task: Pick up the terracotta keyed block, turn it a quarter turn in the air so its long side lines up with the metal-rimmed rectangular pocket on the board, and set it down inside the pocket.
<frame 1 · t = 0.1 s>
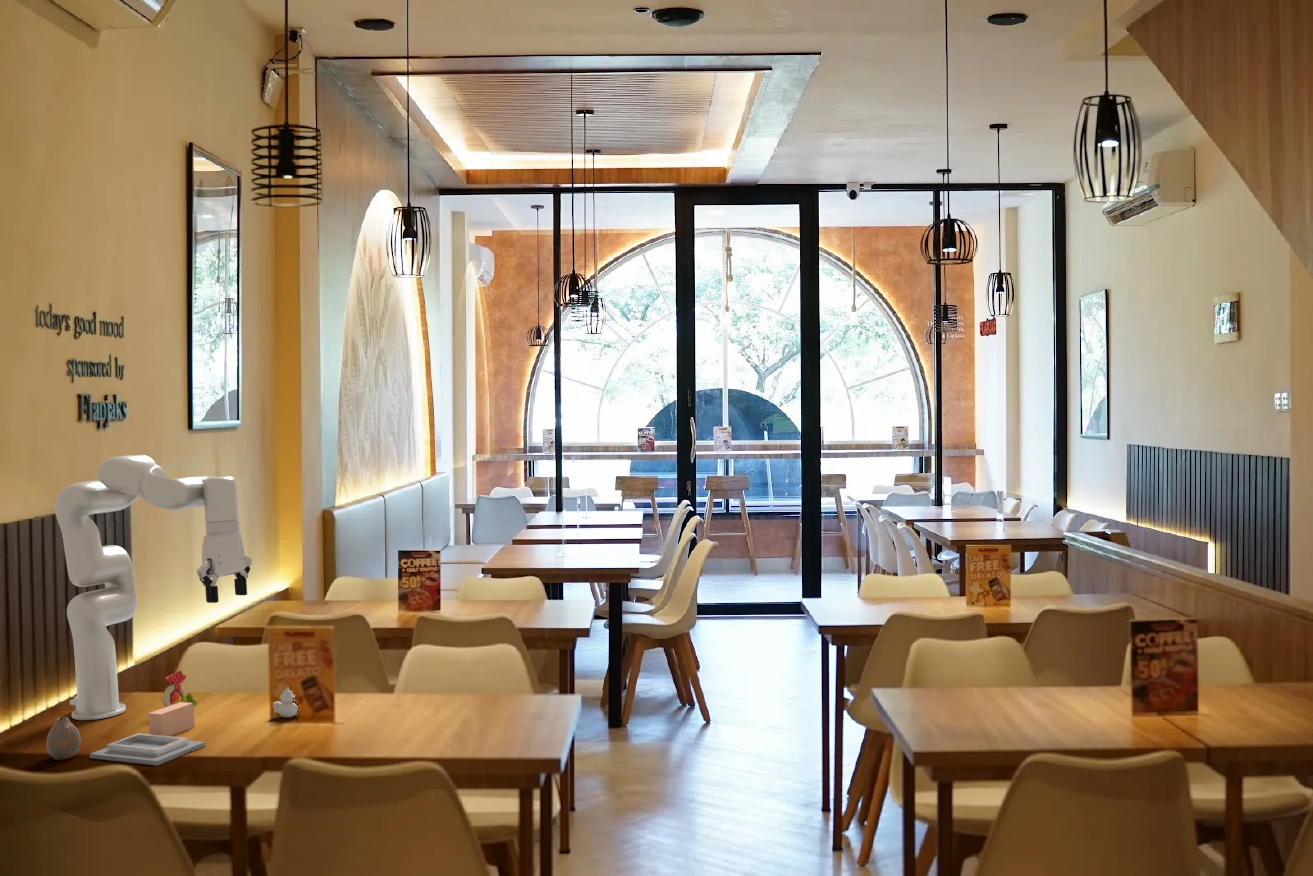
hand: (227, 598, 282), 31 cm above the table, fingers open, 9 cm apart
keyed block: (172, 732, 281), on the table
vase: (64, 758, 265), on the table
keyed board: (148, 752, 265), on the table
rubber duck: (286, 717, 290), on the table
bird rattle: (179, 714, 299), on the table
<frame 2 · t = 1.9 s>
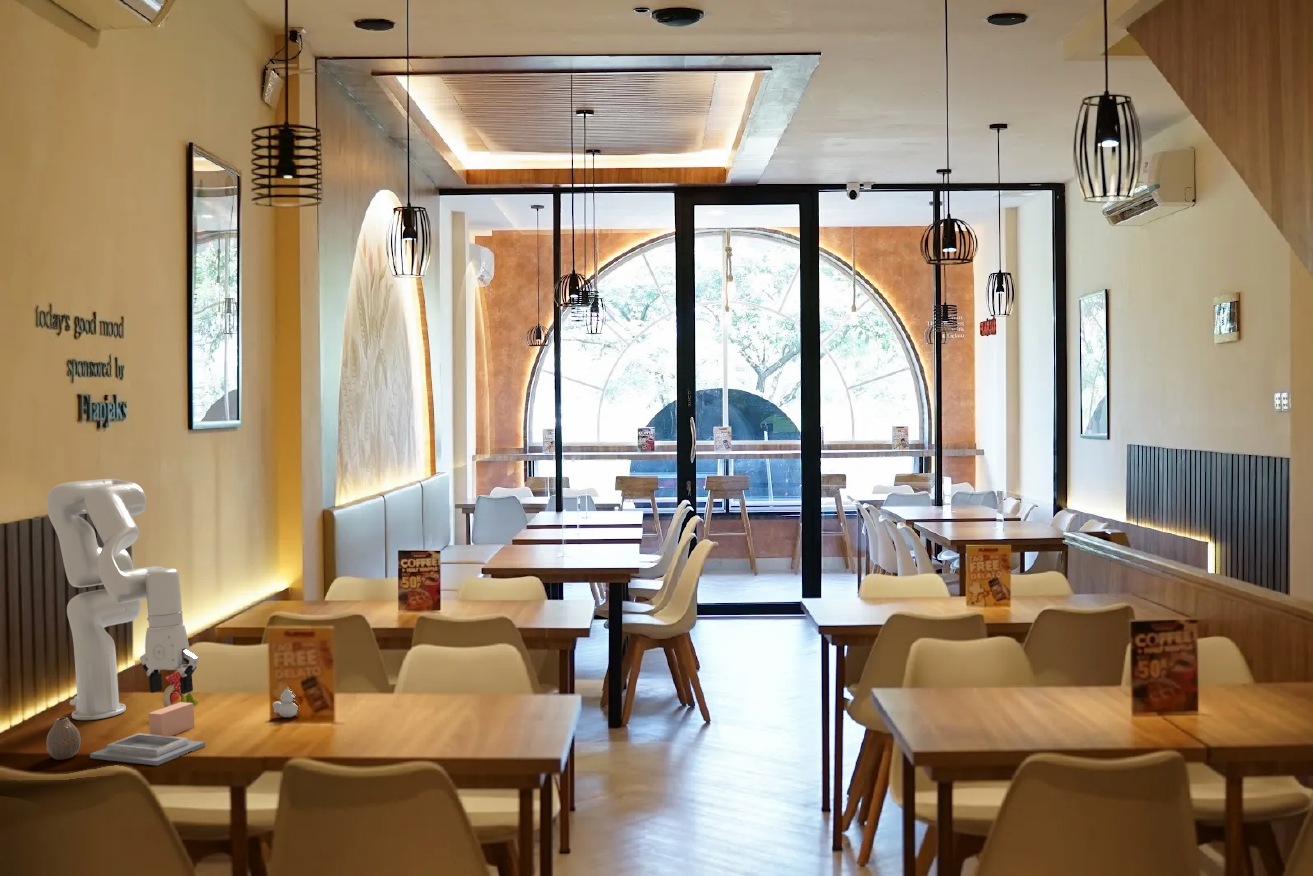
hand: (171, 692, 280), 10 cm above the table, fingers open, 9 cm apart
nothing on the table moved.
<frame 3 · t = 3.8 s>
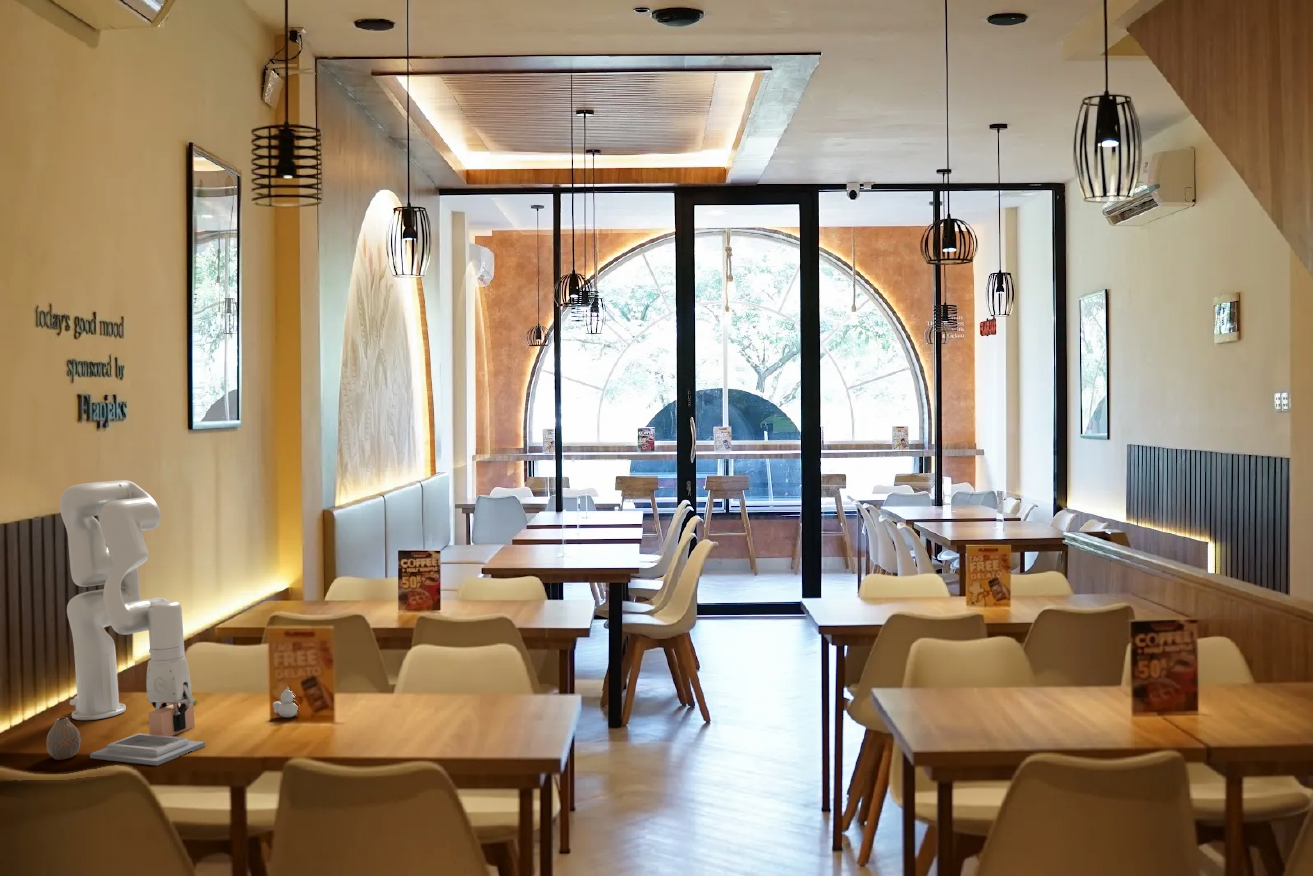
hand: (172, 728, 281), 1 cm above the table, fingers closed on keyed block, 4 cm apart
keyed block: (172, 732, 281), on the table, touching gripper
everything else where it was.
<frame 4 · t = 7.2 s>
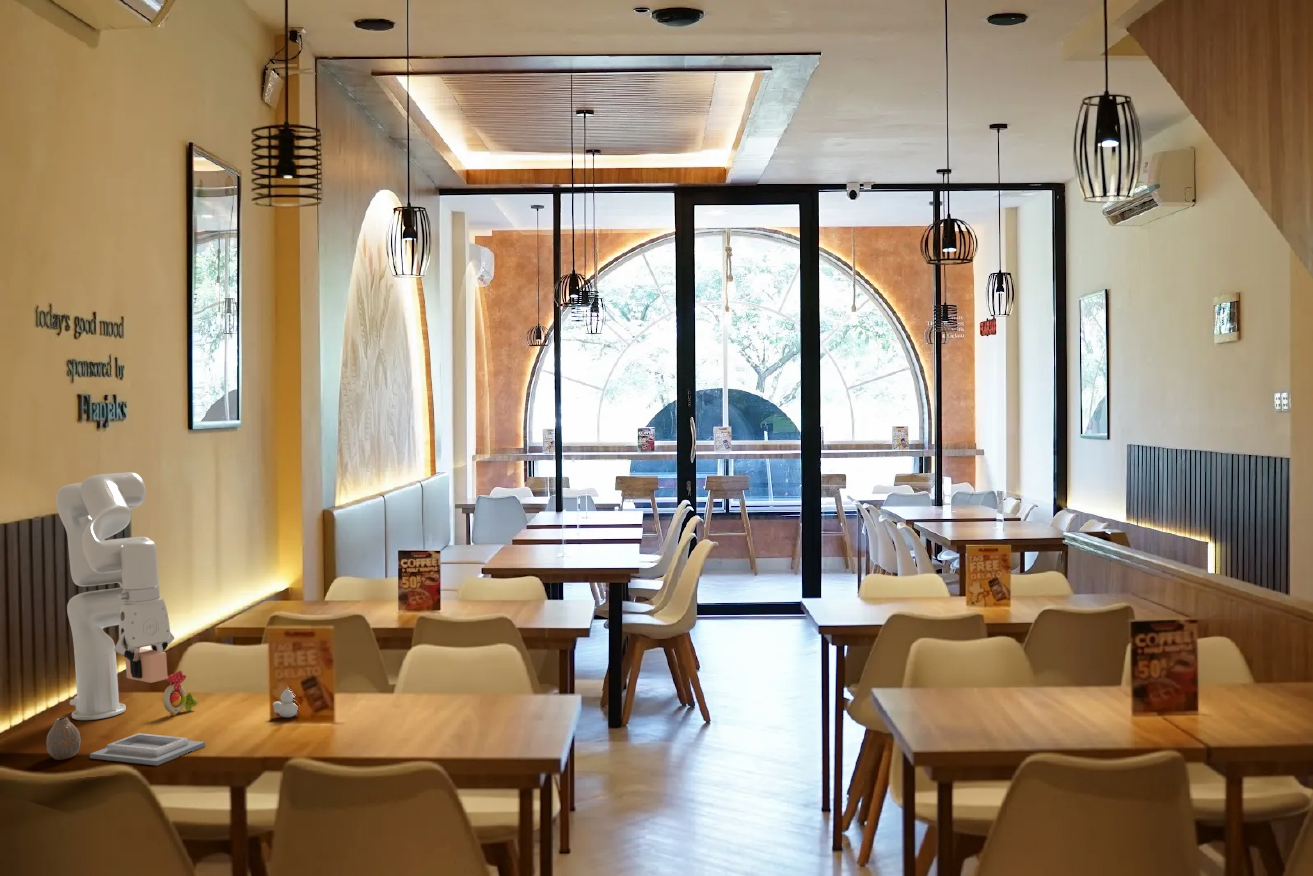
hand: (146, 674, 266), 17 cm above the table, fingers closed on keyed block, 4 cm apart
keyed block: (147, 678, 266), point 16 cm above the table, touching gripper
everything else where it was.
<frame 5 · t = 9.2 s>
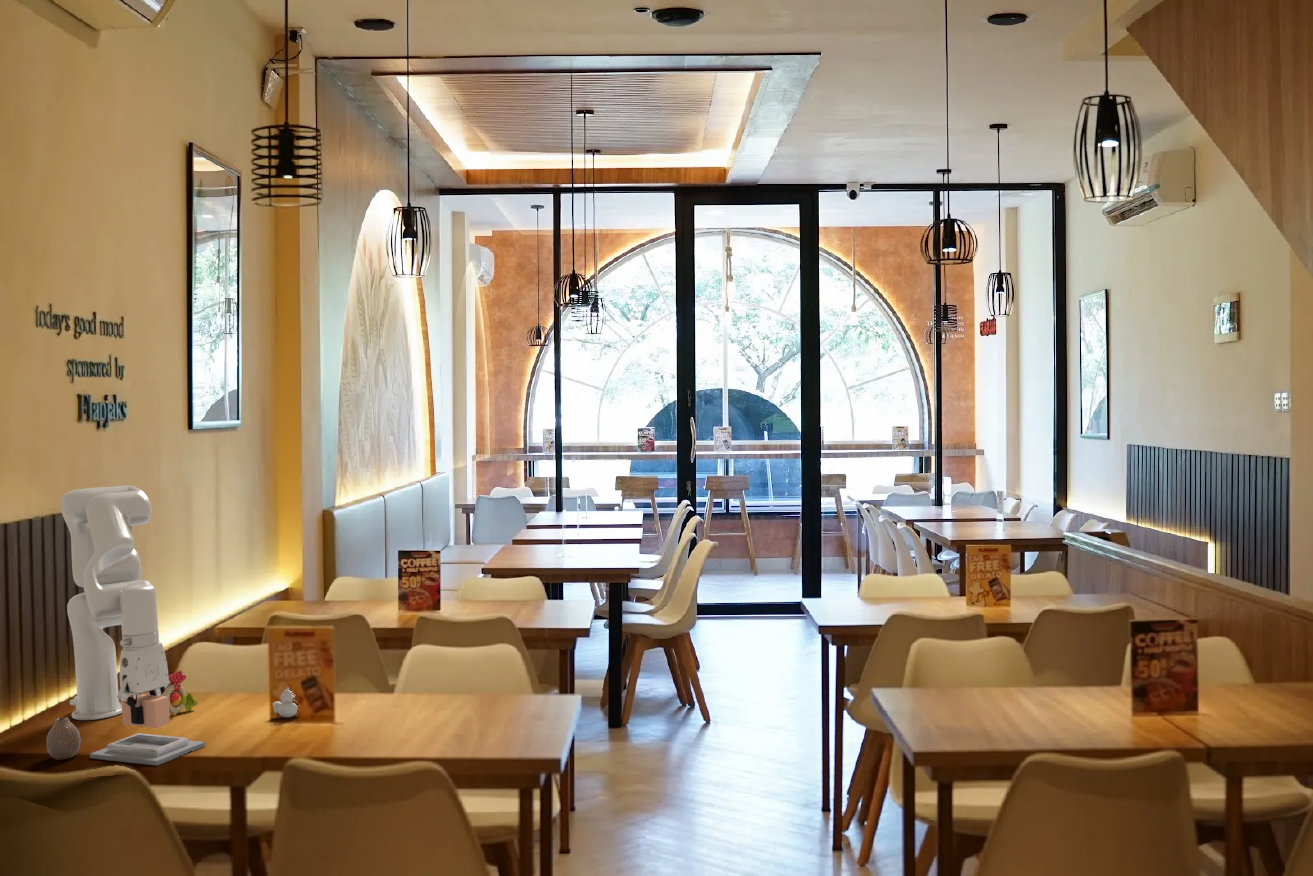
hand: (146, 720, 265), 7 cm above the table, fingers closed on keyed block, 4 cm apart
keyed block: (146, 723, 265), point 6 cm above the table, touching gripper
everything else where it was.
when the fingers open (4 cm above the table, at t = 10.7 s): keyed block drops 2 cm, resting on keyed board.
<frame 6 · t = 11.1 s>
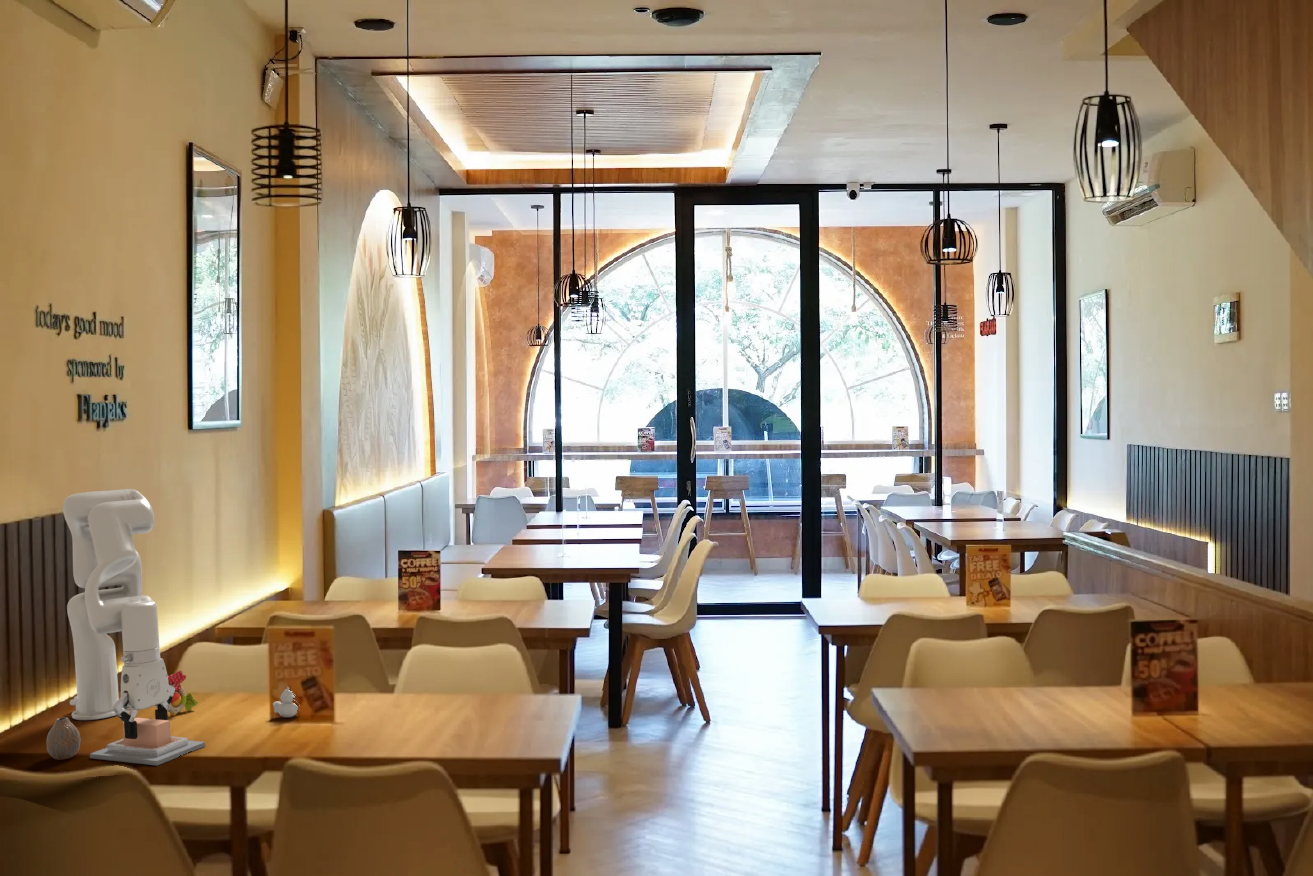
hand: (146, 732, 265), 5 cm above the table, fingers open, 8 cm apart
keyed block: (147, 747, 265), point 1 cm above the table, touching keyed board
everything else where it was.
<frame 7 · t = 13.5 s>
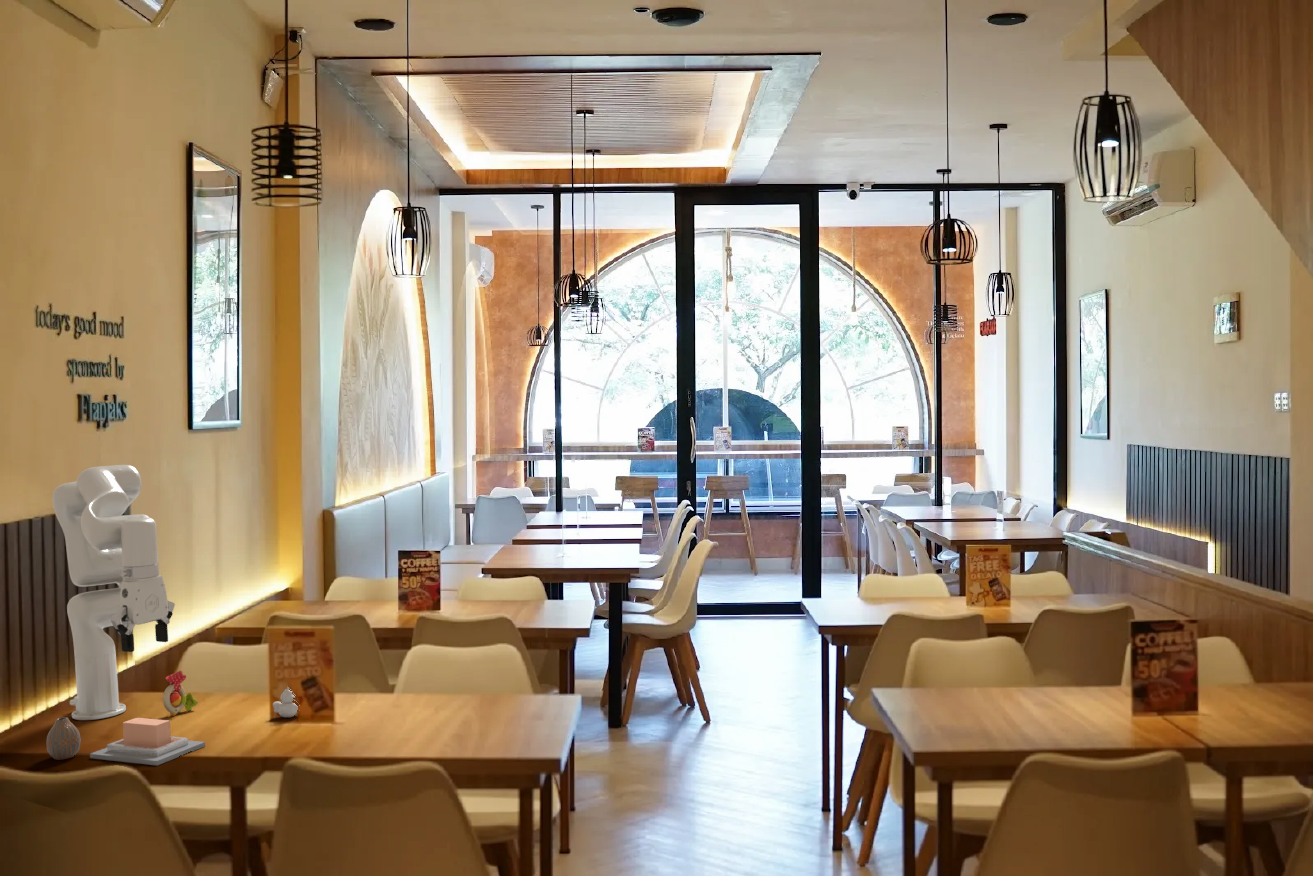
hand: (145, 646, 269), 23 cm above the table, fingers open, 9 cm apart
nothing on the table moved.
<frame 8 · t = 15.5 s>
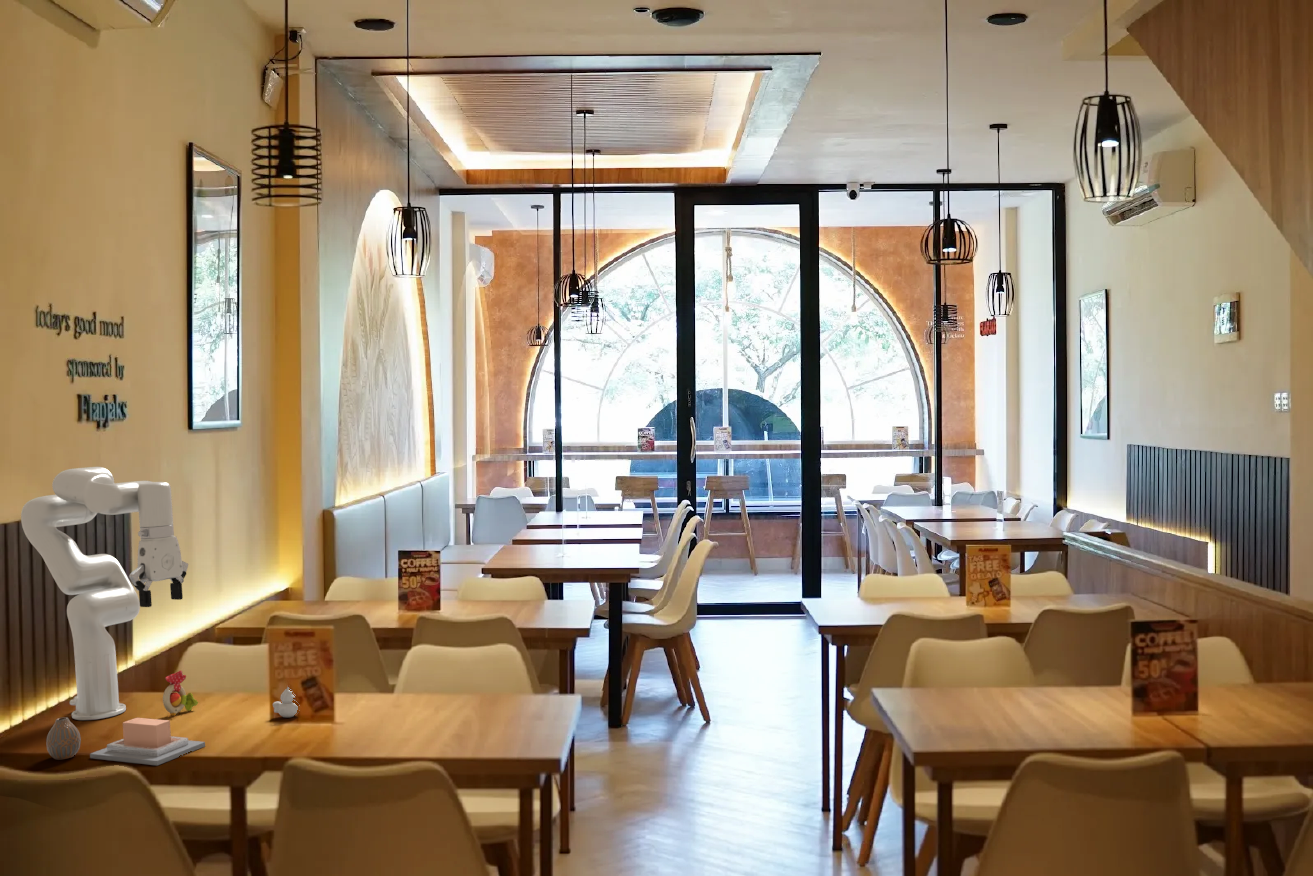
hand: (161, 603, 285), 30 cm above the table, fingers open, 9 cm apart
nothing on the table moved.
at the end: keyed block 0.0 cm off-centre on the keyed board, point 1.0 cm above the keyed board's base; keyed block tilted 0°; the gripper is holding nothing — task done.
